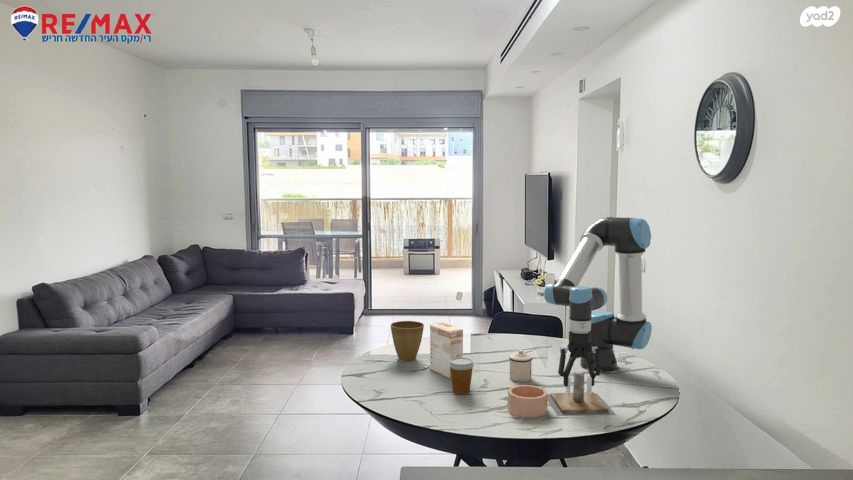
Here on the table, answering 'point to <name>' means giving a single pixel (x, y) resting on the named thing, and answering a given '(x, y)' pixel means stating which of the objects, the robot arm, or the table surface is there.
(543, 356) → the table surface
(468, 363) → the disposable coffee cup
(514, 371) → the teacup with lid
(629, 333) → the robot arm
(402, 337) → the plant pot
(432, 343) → the coffeecake box
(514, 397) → the bowl
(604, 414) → the rubber mat
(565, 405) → the lid board
